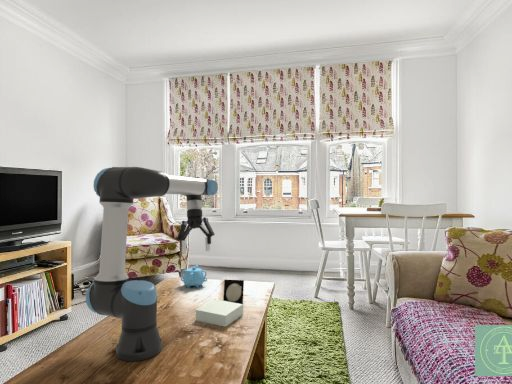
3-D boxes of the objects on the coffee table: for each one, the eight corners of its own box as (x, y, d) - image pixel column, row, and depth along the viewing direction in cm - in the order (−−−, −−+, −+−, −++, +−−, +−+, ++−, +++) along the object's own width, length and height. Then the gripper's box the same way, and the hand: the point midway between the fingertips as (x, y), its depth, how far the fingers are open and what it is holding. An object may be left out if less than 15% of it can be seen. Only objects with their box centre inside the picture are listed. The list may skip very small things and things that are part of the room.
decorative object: (225, 304, 167) (244, 305, 166) (222, 306, 158) (241, 307, 157) (227, 279, 171) (245, 280, 170) (223, 279, 161) (243, 280, 160)
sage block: (225, 327, 136) (225, 315, 136) (195, 321, 143) (195, 309, 143) (242, 315, 150) (242, 304, 150) (214, 309, 156) (214, 299, 156)
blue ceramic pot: (188, 291, 184) (189, 271, 184) (177, 284, 196) (178, 265, 195) (208, 287, 192) (209, 268, 192) (196, 280, 203) (197, 262, 203)
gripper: (219, 207, 165) (222, 250, 160) (178, 214, 174) (179, 255, 169) (212, 204, 158) (214, 249, 153) (169, 212, 168) (169, 254, 162)
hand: (195, 252), depth 161 cm, fingers open, 13 cm apart
